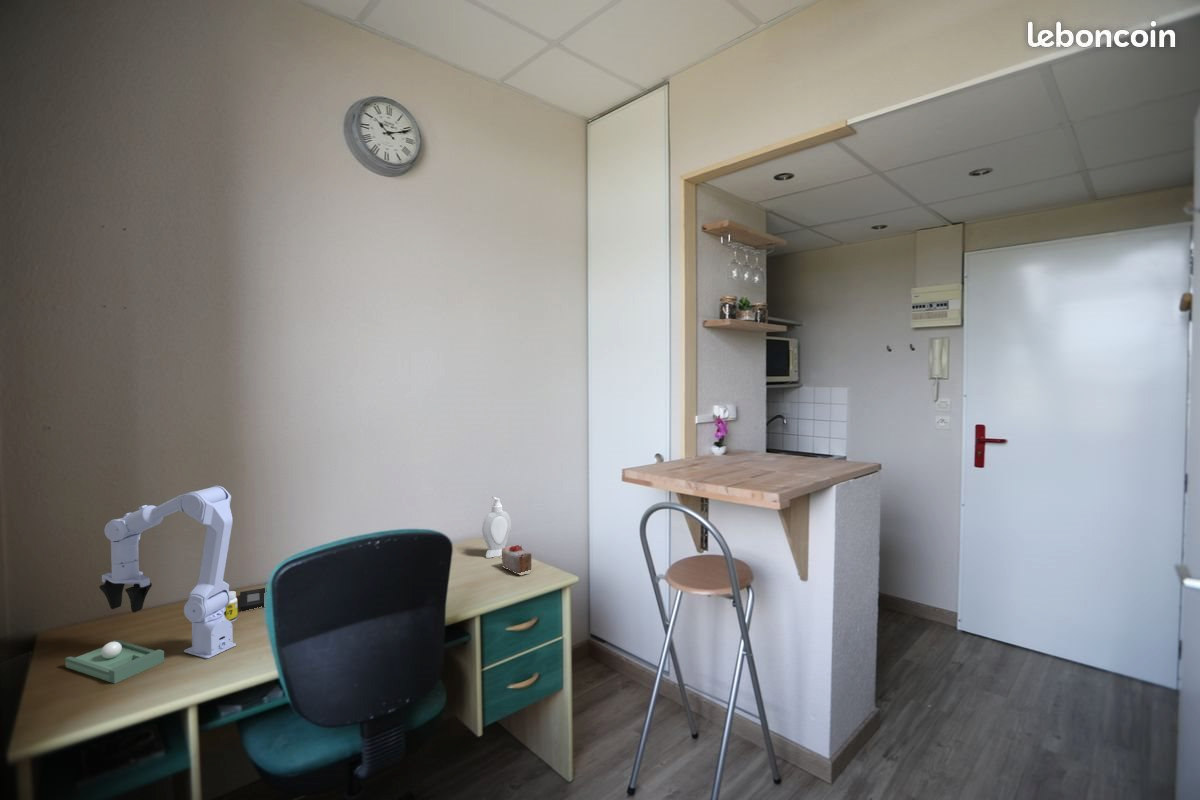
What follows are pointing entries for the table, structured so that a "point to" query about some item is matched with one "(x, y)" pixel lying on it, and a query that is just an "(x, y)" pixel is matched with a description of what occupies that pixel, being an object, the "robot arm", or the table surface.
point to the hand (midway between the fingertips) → (126, 609)
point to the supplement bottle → (231, 608)
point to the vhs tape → (252, 599)
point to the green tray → (116, 662)
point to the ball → (111, 650)
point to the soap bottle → (496, 529)
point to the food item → (516, 559)
